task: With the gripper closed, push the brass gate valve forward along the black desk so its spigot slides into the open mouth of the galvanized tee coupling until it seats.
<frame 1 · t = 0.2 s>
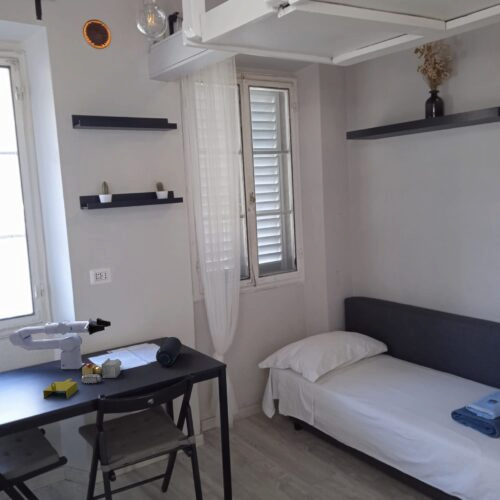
hand: (107, 325, 263), 21 cm above the table, tool horizontal, fingers open, 7 cm apart
valve: (93, 369, 253), point 3 cm above the table, slide at 0.0 cm
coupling: (111, 375, 253), on the table
bracket: (63, 394, 233), on the table
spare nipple: (91, 382, 244), on the table
portable speaker: (169, 360, 271), on the table
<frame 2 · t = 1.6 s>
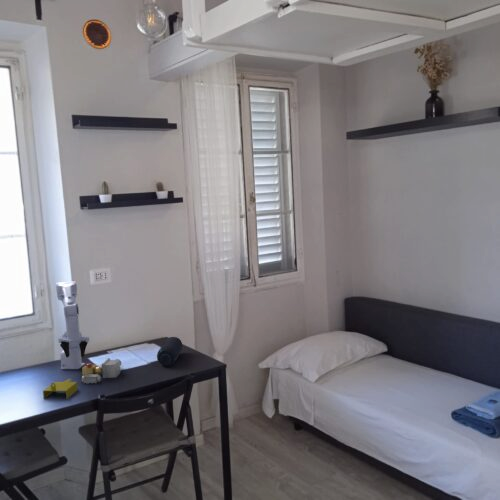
hand: (75, 356, 253), 9 cm above the table, tool pointing down, fingers open, 7 cm apart
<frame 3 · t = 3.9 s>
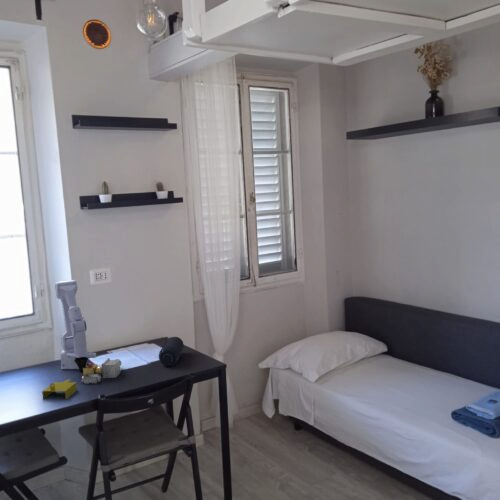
hand: (82, 372, 254), 2 cm above the table, tool pointing down, fingers closed
valve: (94, 369, 253), point 3 cm above the table, slide at 0.5 cm, touching gripper
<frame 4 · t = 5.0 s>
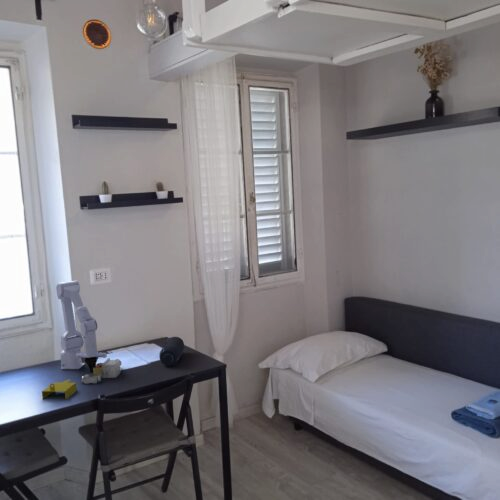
hand: (92, 372, 253), 2 cm above the table, tool pointing down, fingers closed
valve: (104, 369, 253), point 3 cm above the table, slide at 5.5 cm, touching gripper
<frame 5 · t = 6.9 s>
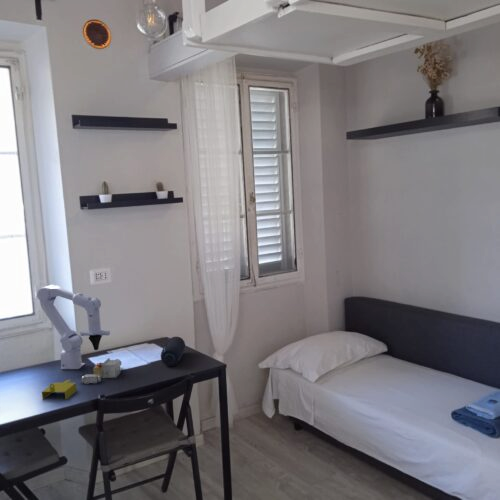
hand: (96, 349, 264), 9 cm above the table, tool pointing down, fingers closed
valve: (104, 369, 253), point 3 cm above the table, slide at 5.5 cm
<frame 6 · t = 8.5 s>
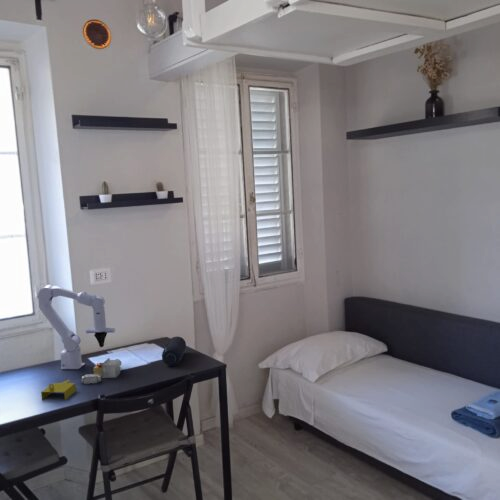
hand: (101, 346, 268), 9 cm above the table, tool pointing down, fingers closed
at the end: valve slide at 5.5 cm; valve 1.2 cm from the target spot on the table beside the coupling, on the table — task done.
